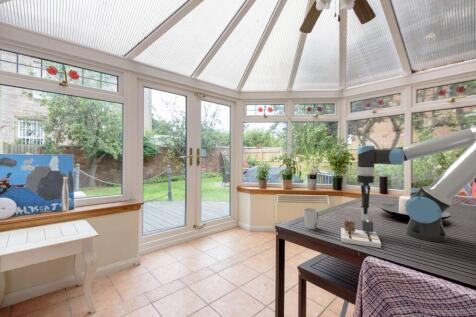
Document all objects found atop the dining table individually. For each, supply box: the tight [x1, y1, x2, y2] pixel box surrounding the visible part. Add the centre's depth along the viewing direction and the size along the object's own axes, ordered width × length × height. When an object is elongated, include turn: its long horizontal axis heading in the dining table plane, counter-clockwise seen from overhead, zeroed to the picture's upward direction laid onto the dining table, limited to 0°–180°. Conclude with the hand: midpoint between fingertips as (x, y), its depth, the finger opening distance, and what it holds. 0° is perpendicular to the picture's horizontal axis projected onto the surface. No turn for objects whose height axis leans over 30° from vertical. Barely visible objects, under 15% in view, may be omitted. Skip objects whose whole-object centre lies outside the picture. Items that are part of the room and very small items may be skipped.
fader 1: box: [344, 219, 356, 232], centre depth 106 cm, size 4×3×5 cm
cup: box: [302, 207, 319, 230], centre depth 119 cm, size 8×8×10 cm
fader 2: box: [361, 219, 374, 232], centre depth 106 cm, size 4×3×5 cm
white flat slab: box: [340, 227, 382, 249], centre depth 103 cm, size 16×15×2 cm
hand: (365, 219), depth 113 cm, fingers closed
